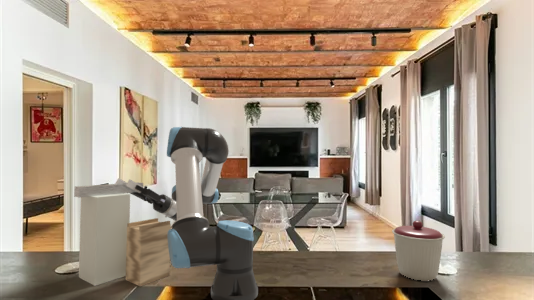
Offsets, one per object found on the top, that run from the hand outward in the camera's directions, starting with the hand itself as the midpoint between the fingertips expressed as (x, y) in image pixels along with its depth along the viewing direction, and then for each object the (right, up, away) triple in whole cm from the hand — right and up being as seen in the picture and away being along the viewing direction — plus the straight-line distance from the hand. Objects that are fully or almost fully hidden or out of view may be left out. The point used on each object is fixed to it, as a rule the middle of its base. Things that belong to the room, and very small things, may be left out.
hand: (122, 182), depth 119 cm
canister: (+113, -36, -1) cm, 119 cm away
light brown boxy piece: (+12, -34, -7) cm, 37 cm away
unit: (-4, -34, -6) cm, 35 cm away
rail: (-3, -4, -3) cm, 6 cm away
